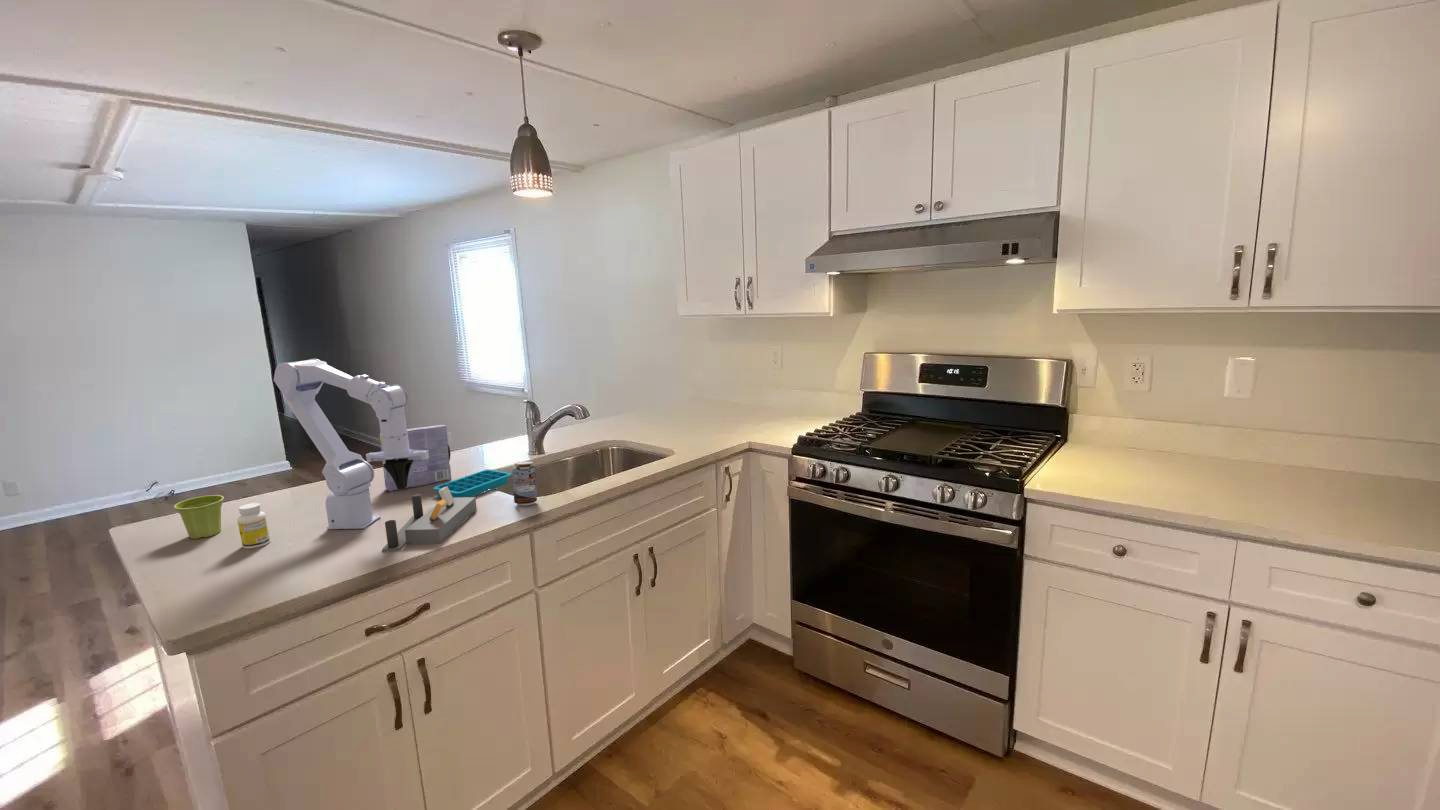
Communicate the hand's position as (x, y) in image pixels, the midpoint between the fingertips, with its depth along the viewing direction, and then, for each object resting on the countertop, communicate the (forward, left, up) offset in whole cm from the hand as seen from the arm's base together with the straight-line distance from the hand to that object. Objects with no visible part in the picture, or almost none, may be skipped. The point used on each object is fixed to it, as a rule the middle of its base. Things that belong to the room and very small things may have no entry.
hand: (402, 487), depth 150 cm
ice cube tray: (+6, +29, -11) cm, 32 cm away
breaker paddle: (+9, -4, -6) cm, 12 cm away
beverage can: (+26, +15, -11) cm, 32 cm away
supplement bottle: (-31, -9, -11) cm, 34 cm away
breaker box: (+9, +1, -10) cm, 14 cm away
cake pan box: (-13, +35, -11) cm, 39 cm away
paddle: (+9, +5, -6) cm, 12 cm away
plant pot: (-49, -2, -11) cm, 51 cm away
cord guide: (+2, -4, -11) cm, 12 cm away
